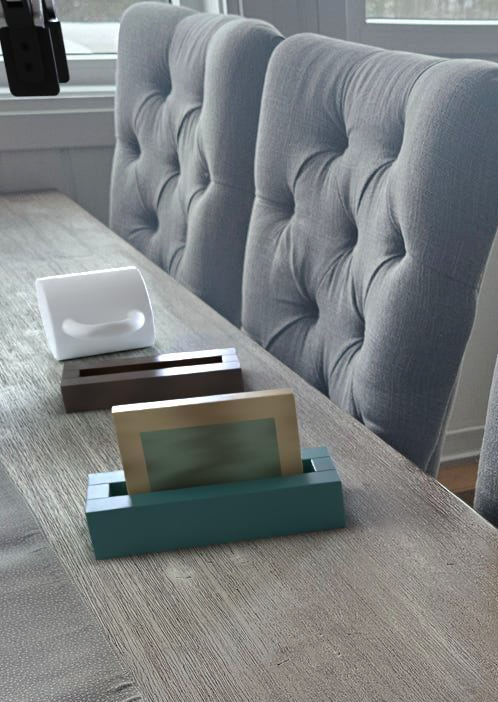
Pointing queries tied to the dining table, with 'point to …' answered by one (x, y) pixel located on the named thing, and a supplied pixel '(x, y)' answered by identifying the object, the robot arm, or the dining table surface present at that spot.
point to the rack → (150, 379)
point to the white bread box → (95, 312)
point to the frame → (208, 440)
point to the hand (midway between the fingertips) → (42, 89)
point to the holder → (213, 510)
